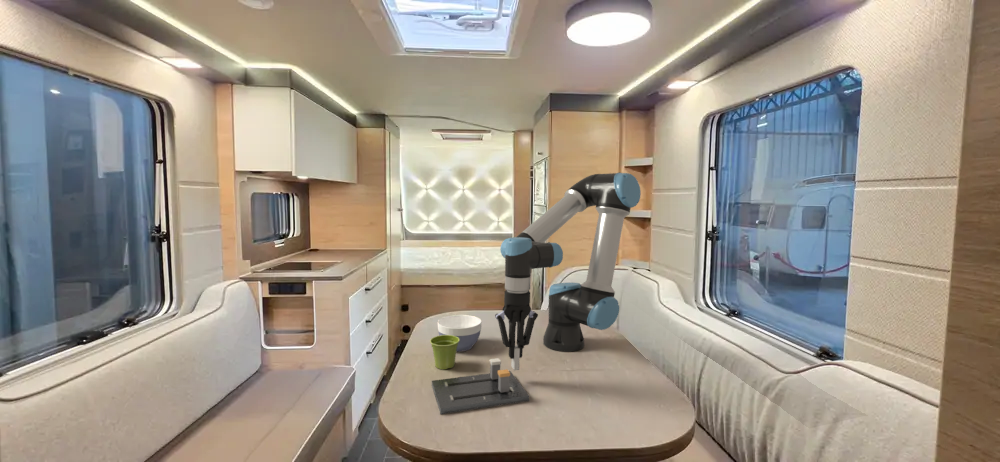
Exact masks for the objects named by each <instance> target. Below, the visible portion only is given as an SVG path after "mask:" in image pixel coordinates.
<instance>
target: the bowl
mask: <svg viewBox="0 0 1000 462" xmlns="http://www.w3.org/2000/svg"><path fill="white" fill-rule="evenodd" d="M482 322H483V321H482V319H481V318H480V317H478V316H474V315H470V314H469V315H468V314H453V315H447V316H443V317H441V318H438V320H437V331H438V336H440V335H452V336H456V337H458V338H459V343H458V346H457V350H456V352H466V351H469V350H471V349H472V348H473V346H474V345H475V344H476V343H477V342H478V339H479V338H480V336H481V331H482Z"/></svg>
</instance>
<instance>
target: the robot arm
mask: <svg viewBox="0 0 1000 462" xmlns="http://www.w3.org/2000/svg"><path fill="white" fill-rule="evenodd" d="M641 191H642V190H641V187H640V183H639V181H638V179H637V178H636V176H635V175H633V174H631V173H628V172H613V173H611V172H609V173H594V174H590V175H588V176H585V177H584V178H582V179H580V180H579V181H577V182H576V183H574V184H573V185H572V186H571V187H570V188H568V189H567V190H566V191H565V193H564V195H563V197H562V198H561V199H560V200H558V201H557V202H556V203H555V204H553V205H552V206H551V207H550V208H549V209H548V210H546V212H544V213H543V214H542V215H541V216H539V217H538V218H537V219H536V220H535V221H534V222H532V223H531V224H530V225H528V227H526V228H525V229H524V230H523V231H521V232H520V233H519V234H518V235H517V236H516V237H509V238H505V239H504V240H503V241H502V242H501V245H500V253H501V256H502V257H503V258H504V269H505V271H504V290H505V291H504V294H503V295H504V300H503V302H504V304H503V307H502V311H501V312H499V313H496V314H494V317H495V319H496V320H497V322H498V327H499V332H500V336H501V339H502V344H503V345H504V346H505V347H506V348H508V357H509V359H511V368H512V369H513V371H519V370H520V359H522V357H523V349H524V348H525V346H528V345H529V344H530V340H531V338H532V333H533V328H534V325H535V321H536V320H537V318H538V317H539V314H538V312H535V311H533V310H532V308H531V304H530V303H531V292H530V290H531V275H532V270H534V269H535V270H536V269H544V268H553V267H557V266H560V264H561V263H562V262H563V259H564V251H563V248H562V247H561V245H560V244H559V243H557V242H550V241H548V242H546V241H547V240H548V239H549V238H550V237H552V236H553V235H554V234H555V233H556V232H558V230H560V229H561V227H563V225H566V224H567V222H568V221H570V220H571V219H572V218H573V217H574V216H575V215H576V214H578V213H582V212H584V211H585V210H586V209H587V208H591V207H594V206H595V210H596V211H597V213H598V216H597V217H598V218H597V222H596V223H597V224H596V227H595V234H594V239H593V244H592V250H591V254H590V259H589V260H590V261H589V264H588V270H587V275H586V280H585V282H583V283H581V284H580V283H578V282H560V283H559V282H558V283H553V284H551V285H550V286H549V291H548V292H549V293H548V324H547V326H546V329H545V332H544V334H543V338H542V339H543V341H542V343H543V346H545V348H548V349H550V350H553V351H559V352H575V351H579V350H582V349H584V347H585V337H584V335H583V332H582V329H581V325H584V326H587V327H589V328H591V329H596V330H600V331H604V330H607V329H610V327H611V326H612V325H614V323H615V322H616V321H617V318H618V317H619V312H620V305H619V303H620V302H619V301H618V299H616V298H615V293H616V291H615V290H614V288H613V285H612V284H613V279H614V275H615V274H614V273H615V268H616V262H617V257H618V252H619V247H620V241H621V237H622V231H623V227H624V219H625V218H626V217H628V216H629V215H631V214H630V213H631V209H632V208H634V207H636V206H637V205H638V204H639V203H640V199H641ZM505 317H506V318H507V320H508V332H507V327H506V323H505ZM526 319H527V322H526V325H525V321H526ZM524 327H525V328H524Z"/></svg>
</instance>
